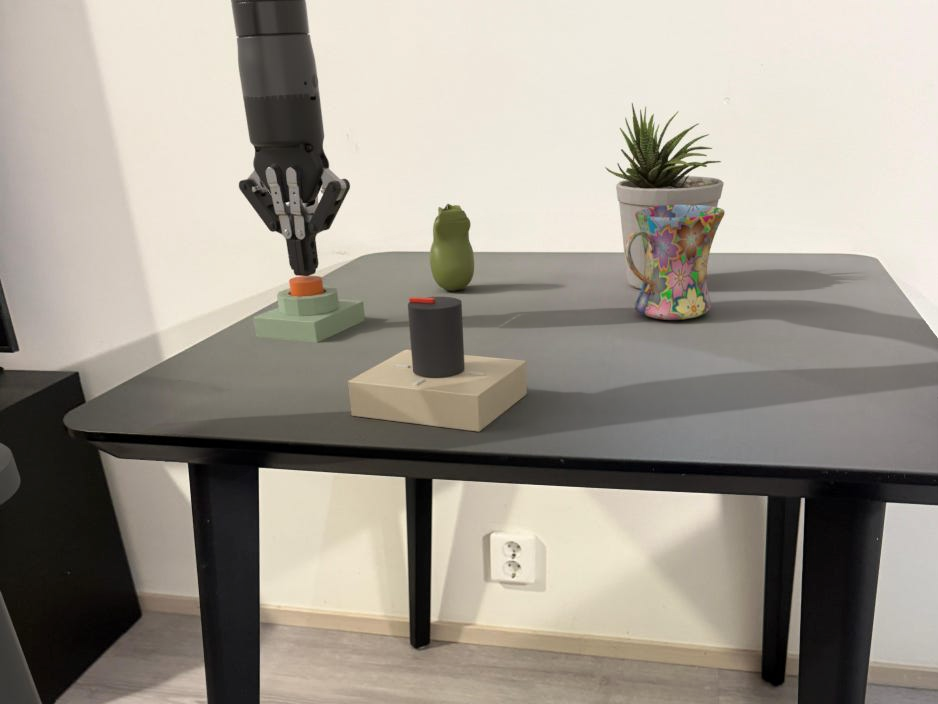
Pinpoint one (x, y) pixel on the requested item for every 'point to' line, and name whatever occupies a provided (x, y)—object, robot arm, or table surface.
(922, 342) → the table surface
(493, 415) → the panel
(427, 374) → the dial
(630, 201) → the potted plant
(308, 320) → the button block
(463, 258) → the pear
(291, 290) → the button
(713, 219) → the mug
